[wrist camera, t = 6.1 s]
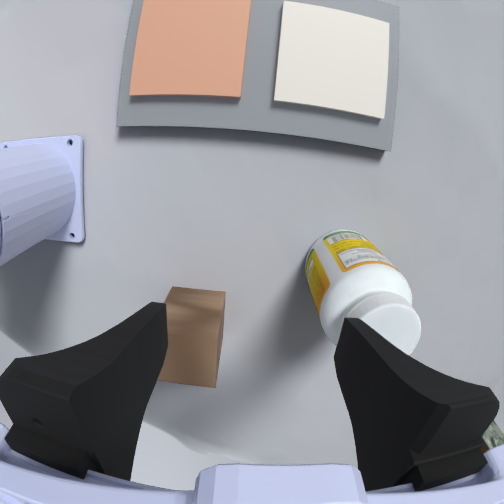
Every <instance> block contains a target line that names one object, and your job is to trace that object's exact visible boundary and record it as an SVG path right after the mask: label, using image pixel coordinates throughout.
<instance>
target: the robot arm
mask: <svg viewBox="0 0 504 504" xmlns="http://www.w3.org/2000/svg"><path fill="white" fill-rule="evenodd" d="M71 139H72V141H73V144H72V145H70V140H71ZM7 147H8V148H7ZM72 233H73V234H74V235H75V238H74V237H73V236H72ZM84 238H85V232H84V214H83V138H82V137H81V136H79V135H74V136H60V137H47V138H37V139H27V140H18V141H10V142H3V143H0V266H2V265H3V264H5V263H6V262H8V261H9V260H11V259H12V258H14V257H16V256H17V255H19V254H20V253H22V252H24V251H25V250H27V249H28V248H30V247H32V246H33V245H35V244H37V243H38V242H40V241H42V240H43V239H47V240H57V241H67V242H77V243H79V242H81V241H83V240H84ZM167 348H168V331H167V310H166V304H165V303H157V302H151V303H149V304H148V305H146V306H145V307H143V308H142V309H140V310H139V311H137V312H136V313H135V314H133V315H132V316H130V317H129V318H127V319H126V320H124V321H123V322H121V323H120V324H118V325H116V326H115V327H113V328H111V329H110V330H108V331H106V332H104V333H103V334H101V335H99V336H97V337H95V338H92V339H90V340H88V341H86V342H83V343H81V344H78V345H75V346H72V347H69V348H67V349H64V350H60V351H56V352H52V353H48V354H43V355H38V356H31V357H23V358H15V359H14V361H13V362H12V363H11V364H10V365H9V366H8V368H7V369H6V370H5V371H4V373H3V374H2V375H1V376H0V400H1V402H2V404H3V406H4V408H5V410H6V411H7V413H8V415H9V417H10V419H11V420H12V422H13V425H12V427H11V429H10V430H9V429H8V428H7V427H6V426H5V425H3V424H2V423H0V504H504V444H502V445H500V446H497V447H494V448H492V449H490V450H488V451H487V452H485V453H484V454H483V452H482V451H481V449H480V448H482V447H483V445H484V443H483V441H482V439H481V436H482V435H483V434H484V432H485V431H486V430H487V428H488V427H489V426H490V424H491V423H492V421H493V420H494V418H495V417H496V415H497V412H498V410H499V401H498V399H497V398H496V396H495V395H494V393H493V392H492V390H491V389H490V388H489V387H485V386H480V385H476V384H472V383H468V382H465V381H461V380H458V379H455V378H453V377H450V376H447V375H445V374H443V373H440V372H438V371H436V370H434V369H432V368H430V367H428V366H426V365H424V364H422V363H420V362H419V361H417V360H415V359H413V358H412V357H410V356H409V355H407V354H406V353H404V352H403V351H401V350H400V349H398V348H397V347H396V346H394V345H393V344H392V343H390V342H389V341H388V340H386V339H385V338H384V337H383V336H381V335H380V334H379V333H378V332H376V331H375V330H374V329H373V328H371V327H370V326H369V325H368V324H366V323H365V322H364V321H362V320H361V319H359V318H346V317H345V318H344V322H343V325H342V329H341V333H340V337H339V340H338V344H337V347H336V351H335V354H334V361H335V368H336V373H337V378H338V381H339V384H340V388H341V391H342V394H343V397H344V400H345V403H346V406H347V409H348V412H349V416H350V419H351V423H352V427H353V433H354V439H355V445H356V453H357V461H358V469H356V468H355V467H353V466H351V465H348V464H336V463H327V464H304V465H264V464H242V463H235V464H218V465H216V466H213V467H210V468H207V469H204V470H202V471H201V472H200V473H199V475H198V477H197V479H196V483H195V490H194V491H181V490H171V489H165V488H160V487H154V486H149V485H144V484H140V483H136V482H131V481H130V479H131V472H132V466H133V460H134V455H135V450H136V445H137V441H138V436H139V432H140V428H141V424H142V420H143V416H144V412H145V409H146V406H147V404H148V401H149V399H150V396H151V394H152V391H153V389H154V386H155V384H156V381H157V379H158V377H159V374H160V372H161V369H162V367H163V364H164V360H165V356H166V352H167Z"/></svg>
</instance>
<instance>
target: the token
mask: <svg viewBox="0 0 504 504" xmlns="http://www.w3.org/2000/svg"><path fill="white" fill-rule="evenodd" d="M225 293H226V292H221V291H211V290H200V289H191V288H181V287H172V288H171V290H170V292H169V294H168V296H167V298H166V300H165V302H164V303H165V304H166V310H167V331H168V348H167V352H166V356H165V360H164V364H163V367H162V369H161V372H160V374H159V377H158V379H157V380H159V381H166V382H172V383H179V384H187V385H195V386H203V387H212V388H216V381H217V374H218V367H219V360H220V353H221V346H222V339H223V326H224V309H225Z"/></svg>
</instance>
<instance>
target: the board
mask: <svg viewBox="0 0 504 504" xmlns="http://www.w3.org/2000/svg"><path fill="white" fill-rule="evenodd" d="M398 62H399V7H397V6H394V5H391V4H388V3H385V2H382V1H378V0H134V2H133V7H132V12H131V17H130V22H129V27H128V33H127V39H126V45H125V51H124V58H123V65H122V73H121V82H120V91H119V101H118V112H117V125H116V126H121V127H125V126H172V127H202V128H220V129H234V130H247V131H258V132H268V133H277V134H286V135H294V136H302V137H309V138H316V139H323V140H329V141H335V142H341V143H347V144H353V145H358V146H364V147H369V148H374V149H379V150H384V151H390V152H391V147H392V138H393V130H394V120H395V109H396V97H397V82H398Z"/></svg>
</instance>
